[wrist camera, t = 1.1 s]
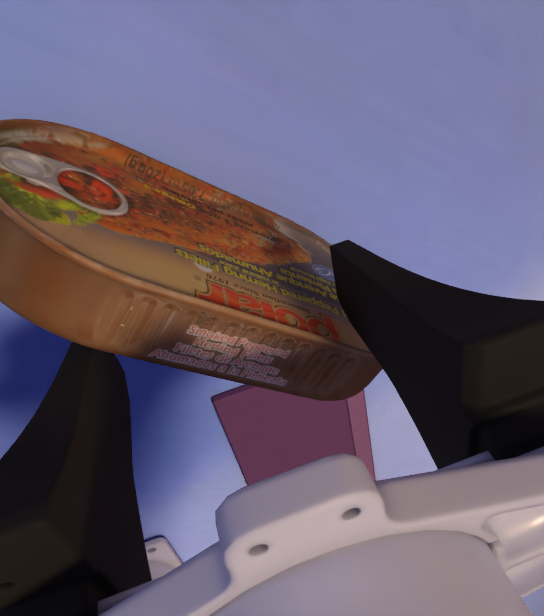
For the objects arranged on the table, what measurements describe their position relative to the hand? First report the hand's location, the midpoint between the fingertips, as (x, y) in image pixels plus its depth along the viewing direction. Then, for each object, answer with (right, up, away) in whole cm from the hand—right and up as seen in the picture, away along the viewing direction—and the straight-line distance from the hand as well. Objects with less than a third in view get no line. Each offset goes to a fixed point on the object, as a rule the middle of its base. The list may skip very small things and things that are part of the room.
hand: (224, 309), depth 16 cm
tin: (-2, +4, +5) cm, 7 cm away
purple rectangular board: (+4, -11, +18) cm, 21 cm away
